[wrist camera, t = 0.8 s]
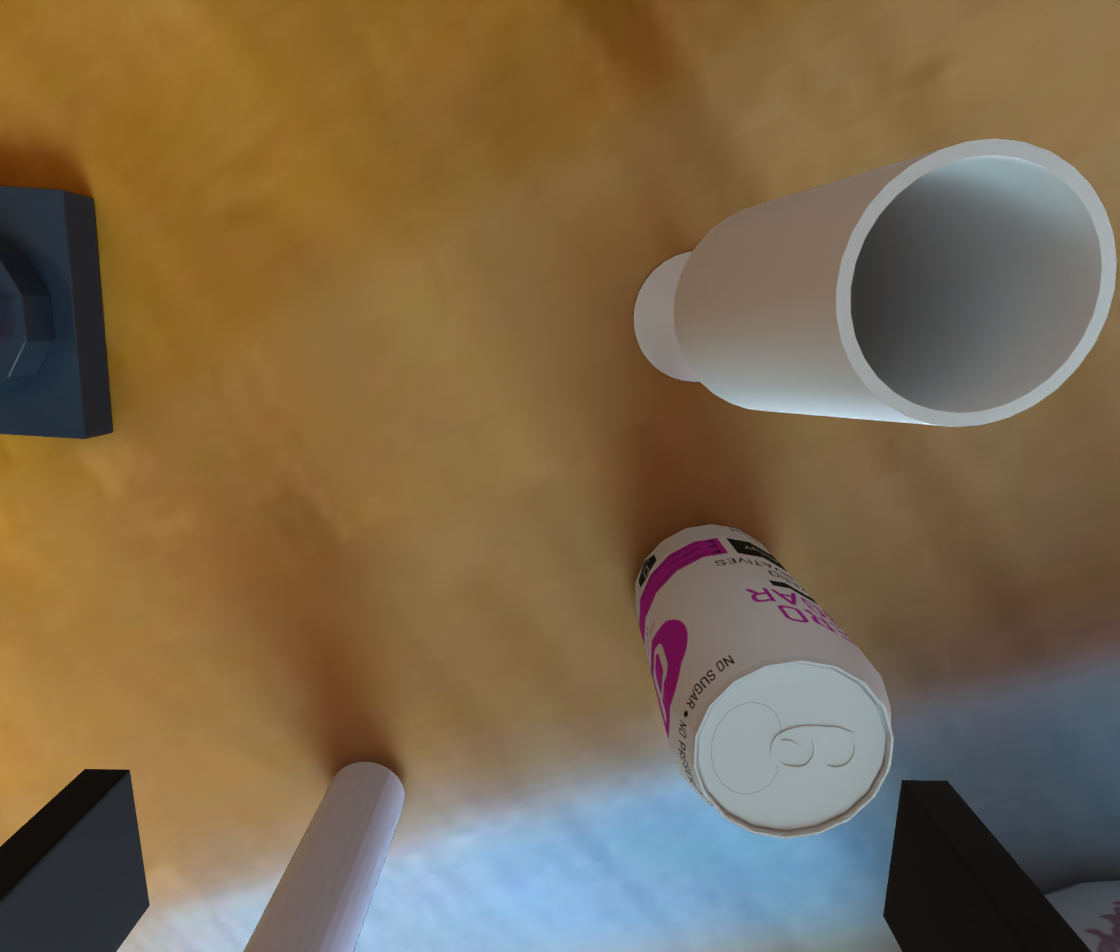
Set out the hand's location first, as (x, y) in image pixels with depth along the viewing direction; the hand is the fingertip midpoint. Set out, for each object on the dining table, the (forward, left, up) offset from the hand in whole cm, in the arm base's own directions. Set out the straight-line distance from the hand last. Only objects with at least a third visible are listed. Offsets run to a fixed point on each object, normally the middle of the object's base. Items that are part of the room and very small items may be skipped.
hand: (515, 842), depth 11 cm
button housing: (-8, -29, -26) cm, 40 cm away
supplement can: (+5, +9, -26) cm, 28 cm away
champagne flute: (-10, +7, -26) cm, 29 cm away
